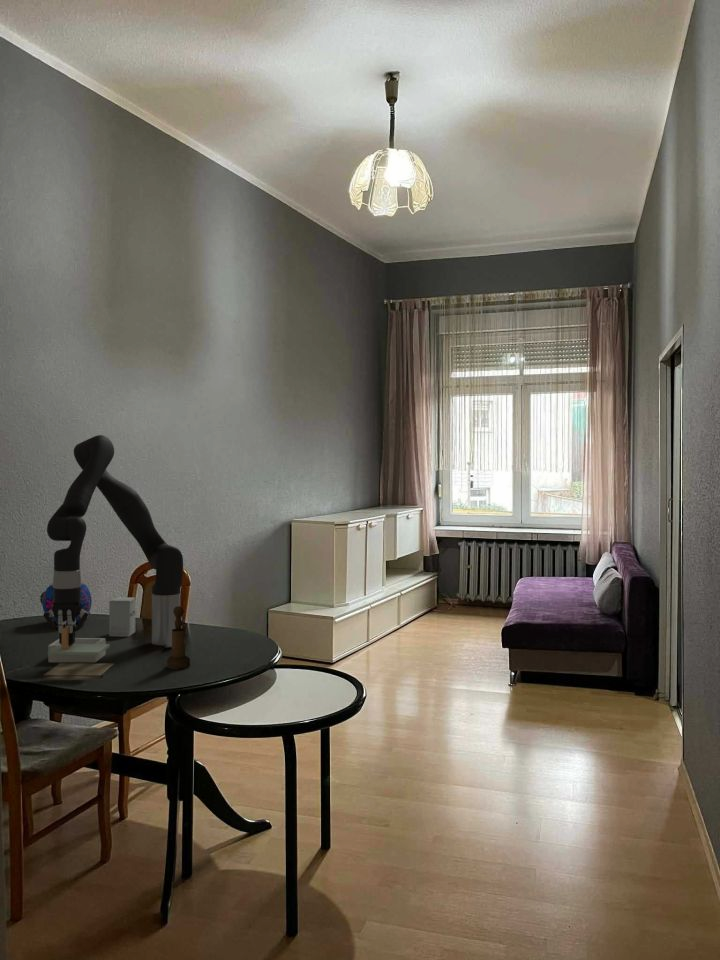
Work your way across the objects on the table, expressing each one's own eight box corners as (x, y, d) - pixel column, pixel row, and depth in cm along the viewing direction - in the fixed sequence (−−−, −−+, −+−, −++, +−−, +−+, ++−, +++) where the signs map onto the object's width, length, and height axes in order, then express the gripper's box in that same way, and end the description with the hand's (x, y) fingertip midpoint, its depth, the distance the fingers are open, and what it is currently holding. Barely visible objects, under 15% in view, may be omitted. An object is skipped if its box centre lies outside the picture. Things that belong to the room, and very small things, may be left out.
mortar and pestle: (167, 670, 238) (167, 609, 238) (166, 664, 245) (166, 605, 244) (190, 668, 240) (190, 608, 240) (189, 663, 247) (189, 604, 246)
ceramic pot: (72, 617, 317) (72, 578, 317) (101, 622, 307) (101, 582, 307) (32, 624, 303) (31, 584, 302) (61, 630, 293) (61, 588, 292)
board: (114, 666, 242) (114, 663, 242) (100, 678, 229) (100, 675, 229) (60, 666, 242) (60, 663, 242) (43, 678, 229) (43, 675, 229)
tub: (105, 657, 253) (105, 638, 253) (95, 665, 243) (95, 645, 243) (60, 657, 253) (60, 638, 253) (48, 665, 243) (48, 645, 243)
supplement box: (129, 636, 282) (129, 600, 282) (108, 636, 283) (108, 600, 282) (136, 632, 290) (136, 597, 289) (115, 632, 290) (115, 596, 290)
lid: (109, 648, 240) (109, 623, 240) (98, 657, 230) (98, 631, 230) (60, 648, 240) (60, 623, 240) (47, 656, 230) (47, 630, 230)
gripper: (94, 583, 238) (94, 642, 239) (48, 583, 238) (48, 642, 239) (86, 587, 231) (86, 648, 231) (38, 587, 231) (38, 648, 231)
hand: (67, 645), depth 235 cm, fingers closed on lid, 1 cm apart
